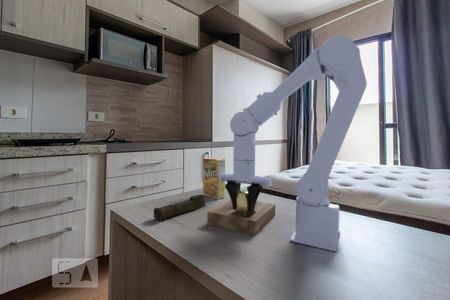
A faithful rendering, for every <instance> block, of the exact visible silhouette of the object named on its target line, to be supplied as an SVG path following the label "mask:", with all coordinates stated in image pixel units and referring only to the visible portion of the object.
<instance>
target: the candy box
mask: <svg viewBox="0 0 450 300" xmlns="http://www.w3.org/2000/svg"><path fill="white" fill-rule="evenodd" d="M222 173H223V174H226V159H224V158H217V157H216V158H215V157H213V158H212V157H204V158H202V195H203V196H204V195H205V196H204V197H208V198H211V199H215V198H216V200H220V198H221V199H224V198H225V195H226V191H225V190H226V188H225V184H226V181H219V174H222ZM223 197H224V198H223Z"/></svg>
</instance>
